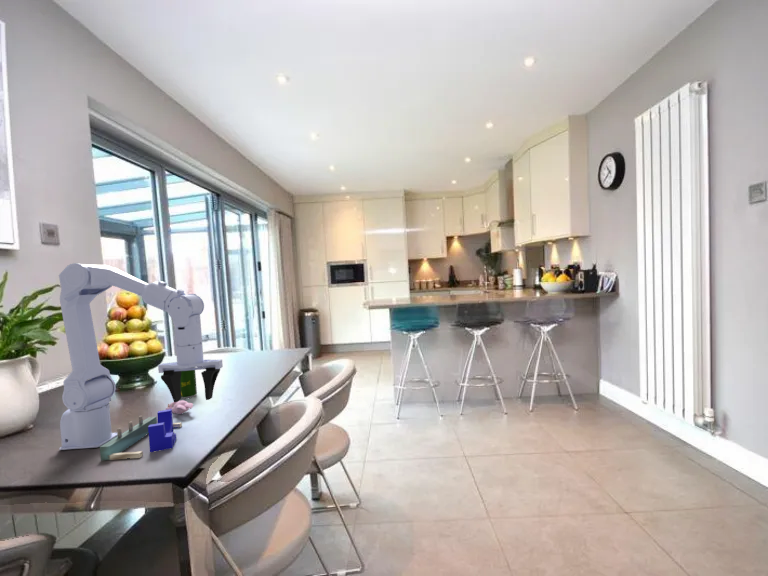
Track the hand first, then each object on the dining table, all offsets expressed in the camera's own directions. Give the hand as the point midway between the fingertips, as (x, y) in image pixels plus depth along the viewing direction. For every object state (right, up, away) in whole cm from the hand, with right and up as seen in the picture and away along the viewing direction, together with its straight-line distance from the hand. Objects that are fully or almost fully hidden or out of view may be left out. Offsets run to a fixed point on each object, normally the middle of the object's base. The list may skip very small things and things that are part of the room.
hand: (193, 399), depth 92 cm
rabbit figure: (-14, -10, +20) cm, 26 cm away
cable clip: (-7, -10, 0) cm, 12 cm away
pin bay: (-11, -10, 0) cm, 15 cm away
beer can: (-20, -10, +37) cm, 43 cm away
